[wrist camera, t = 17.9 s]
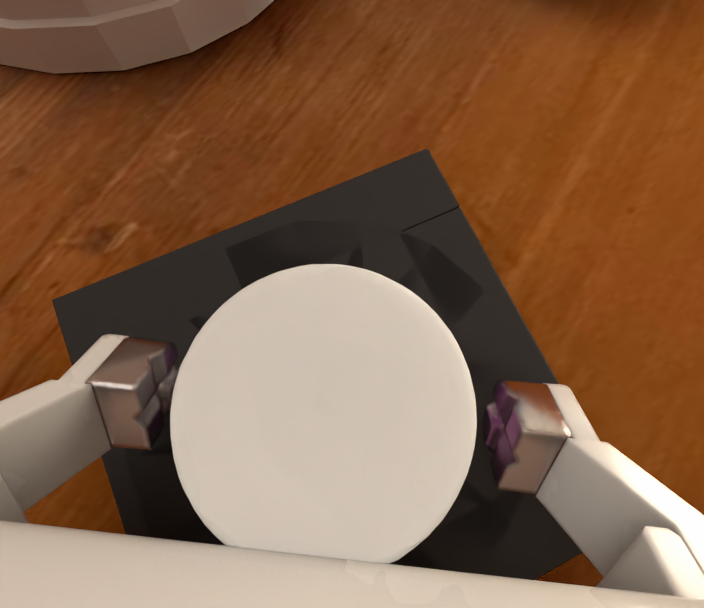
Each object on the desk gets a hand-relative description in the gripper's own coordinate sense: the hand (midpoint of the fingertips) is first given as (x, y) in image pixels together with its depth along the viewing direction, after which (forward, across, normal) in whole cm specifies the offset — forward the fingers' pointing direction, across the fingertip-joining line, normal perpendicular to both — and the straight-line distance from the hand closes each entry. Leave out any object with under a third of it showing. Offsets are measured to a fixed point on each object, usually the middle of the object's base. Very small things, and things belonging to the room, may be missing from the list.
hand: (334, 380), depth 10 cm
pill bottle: (+3, 0, +4) cm, 5 cm away
